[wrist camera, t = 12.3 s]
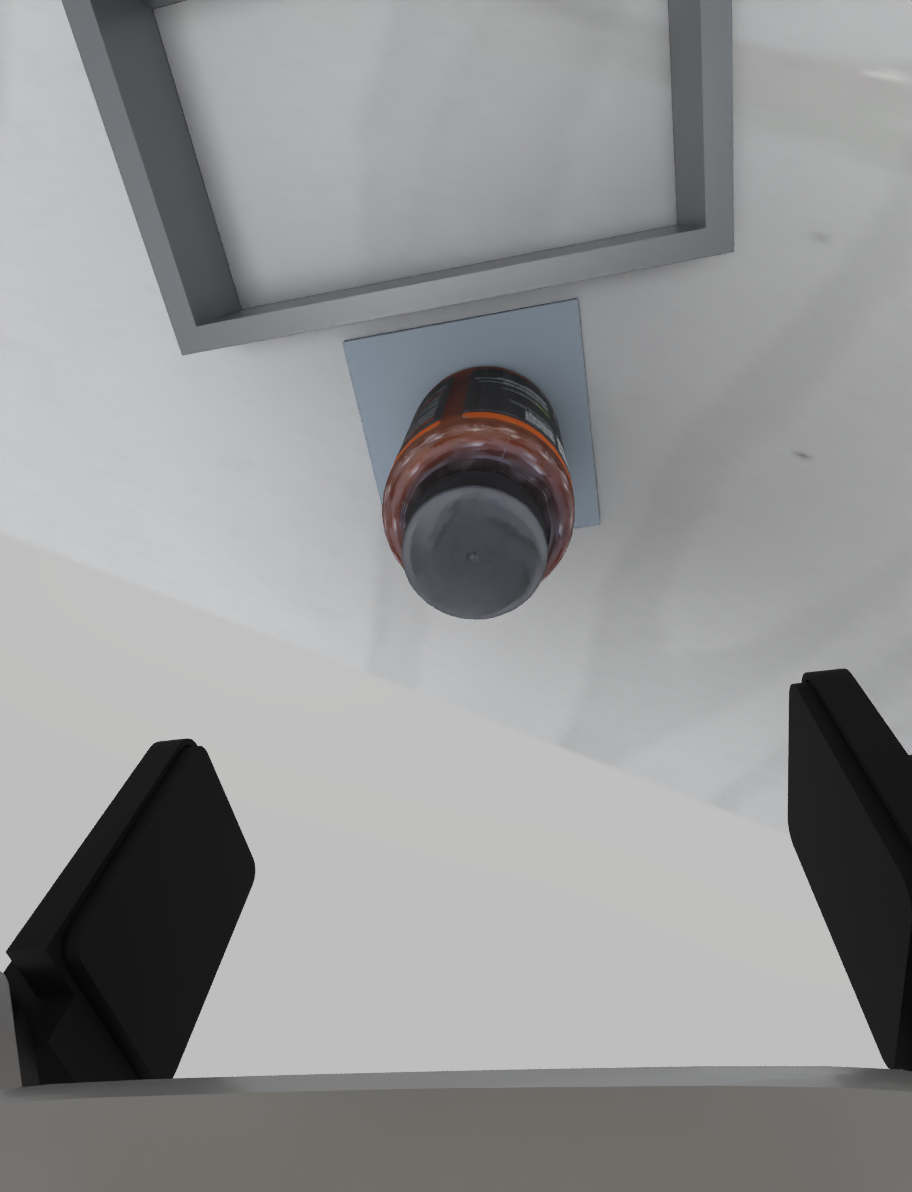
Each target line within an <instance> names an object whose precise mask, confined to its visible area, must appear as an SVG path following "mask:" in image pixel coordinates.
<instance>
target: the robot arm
mask: <svg viewBox="0 0 912 1192" xmlns="http://www.w3.org/2000/svg"><path fill="white" fill-rule="evenodd" d="M788 826H789V832H790V836H791V840H792V843H793V846H794V848H795V850H796V853H797V855H798V857H799V860H800V862H801V865H802V867H803V870H804V872H805V874H806V877H807V879H808V881H809V884H810V886H811V889H812V891H813V893H814V896H815V898H816V901H817V903H818V905H819V908H820V910H821V912H822V915H823V917H824V920H825V922H826V924H827V927H828V929H829V932H830V934H831V936H832V939H833V941H834V944H835V946H836V948H837V951H838V953H839V956H840V958H841V960H842V963H843V965H844V968H845V970H846V972H847V974H848V977H849V979H850V982H851V984H852V987H853V989H854V991H855V994H856V996H857V999H858V1001H859V1003H860V1006H861V1008H862V1010H863V1013H864V1015H865V1018H866V1020H867V1022H868V1025H869V1027H870V1030H871V1032H872V1034H873V1037H874V1039H875V1042H876V1044H877V1046H878V1049H879V1051H880V1054H881V1056H882V1058H883V1060H884V1062H885V1064H886V1065H887V1067H888V1068H889V1069H875V1068H851V1067H831V1066H740V1067H739V1066H732V1067H731V1066H716V1067H715V1066H704V1067H703V1066H693V1067H642V1068H641V1067H640V1068H588V1069H587V1068H586V1069H585V1068H583V1069H533V1070H531V1069H528V1070H483V1071H482V1070H481V1071H441V1072H440V1071H439V1072H397V1073H395V1072H394V1073H356V1074H319V1075H318V1074H315V1075H279V1076H246V1077H214V1078H213V1077H212V1078H181V1079H180V1078H178V1079H172V1078H173V1076H174V1074H175V1072H176V1070H177V1068H178V1065H179V1062H180V1060H181V1057H182V1055H183V1053H184V1051H185V1048H186V1046H187V1043H188V1041H189V1038H190V1036H191V1033H192V1031H193V1029H194V1026H195V1023H196V1021H197V1019H198V1016H199V1014H200V1011H201V1009H202V1007H203V1004H204V1002H205V999H206V997H207V994H208V992H209V990H210V987H211V985H212V982H213V980H214V977H215V975H216V972H217V970H218V968H219V965H220V963H221V960H222V958H223V955H224V953H225V951H226V948H227V945H228V943H229V941H230V938H231V936H232V933H233V931H234V928H235V926H236V924H237V921H238V919H239V916H240V914H241V911H242V909H243V907H244V904H245V902H246V899H247V897H248V894H249V892H250V889H251V887H252V885H253V882H254V877H255V863H254V860H253V857H252V855H251V852H250V850H249V848H248V845H247V843H246V841H245V839H244V836H243V834H242V831H241V829H240V827H239V825H238V822H237V820H236V818H235V815H234V813H233V811H232V808H231V806H230V804H229V801H228V799H227V797H226V795H225V792H224V790H223V788H222V785H221V783H220V781H219V778H218V776H217V774H216V772H215V769H214V767H213V765H212V762H211V760H210V758H209V755H208V753H207V751H206V750H205V748H203V747H202V746H197V745H196V743H195V742H194V741H193V740H192V739H178V740H170V741H160V742H156V743H154V744H153V745H152V746H151V747H150V748H149V750H148V751H147V753H146V754H145V755H144V757H143V758H142V760H141V761H140V763H139V764H138V765H137V767H136V768H135V770H134V771H133V772H132V774H131V776H130V777H129V778H128V780H127V781H126V782H125V784H124V785H123V787H122V788H121V789H120V791H119V792H118V794H117V795H116V797H115V798H114V800H113V801H112V802H111V804H110V805H109V806H108V808H107V809H106V811H105V812H104V814H103V815H102V816H101V818H100V819H99V821H98V822H97V824H96V825H95V826H94V828H93V829H92V831H91V832H90V833H89V835H88V836H87V838H86V839H85V840H84V842H83V843H82V845H81V846H80V848H79V849H78V850H77V852H76V853H75V855H74V856H73V857H72V859H71V860H70V862H69V863H68V865H67V866H66V867H65V869H64V870H63V872H62V873H61V875H60V876H59V877H58V879H57V880H56V882H55V883H54V884H53V886H52V887H51V889H50V890H49V892H48V893H47V894H46V896H45V897H44V899H43V900H42V902H41V903H40V904H39V906H38V907H37V909H36V910H35V911H34V913H33V914H32V916H31V917H30V919H29V920H28V921H27V923H26V924H25V925H24V927H23V928H22V930H21V931H20V932H19V934H18V935H17V937H16V938H15V940H14V941H13V942H12V944H11V945H10V947H9V948H8V950H7V951H6V953H7V954H8V956H9V957H10V959H11V960H12V961H11V963H10V964H9V966H8V967H7V969H6V970H5V971H4V973H2V972H0V1192H912V755H908V754H907V753H906V751H905V750H904V748H903V747H902V745H901V744H900V743H899V741H898V740H897V738H896V737H895V735H894V734H893V733H892V731H891V730H890V728H889V727H888V725H887V724H886V722H885V721H884V720H883V718H882V717H881V715H880V714H879V712H878V711H877V710H876V708H875V707H874V705H873V704H872V702H871V701H870V700H869V698H868V697H867V695H866V694H865V692H864V691H863V690H862V688H861V687H860V685H859V684H858V682H857V681H856V680H855V678H854V677H853V675H852V674H851V673H850V672H849V671H848V670H847V669H835V670H826V671H817V672H807V673H805V674H803V677H802V683H797V684H792V685H791V686H790V691H789V759H788Z"/></svg>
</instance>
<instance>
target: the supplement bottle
mask: <svg viewBox="0 0 912 1192" xmlns="http://www.w3.org/2000/svg"><path fill="white" fill-rule="evenodd" d="M382 517H383V524H384V529H385V534H386V537H387V540H388V542H389V545H390V548H391V550H392V552H393V554H394V556H395V558H396V559H397V561H398V562H399V563H400V564H401V566H402V567H403V569H404V570H405V573H406V576H407V577H408V580H409V582H410V584H411V586H412V587H413V589H414V590H415V591H416V592H417V594H418V595H419V596H420V597H422V598H423V599H424V600H425V601H426V602H427V603H428V604H430V605H431V606H433V607H434V608H436V609H437V610H439V611H441V612H443V613H446V614H449V615H451V616H455V617H459V618H464V619H488V618H493V617H496V616H500V615H502V614H505V613H507V612H510V611H512V610H514V609H516V608H517V607H518V606H520V605H522V604H523V603H524V602H525V601H526V600H527V599H529V598H530V597H531V596H532V594H533V593H534V592H535V590H536V589H537V587H538V586H539V584H540V583H541V582H542V581H543V580H544V579H545V578H546V577H547V576H548V575H549V574H550V573H551V572H552V570H553V569H554V568H555V567H556V565H557V564H558V563H559V561H560V560H561V558H562V557H563V555H564V553H565V552H566V549H567V547H568V545H569V542H570V539H571V536H572V531H573V527H574V522H575V504H574V493H573V488H572V482H571V476H570V473H569V469H568V464H567V458H566V454H565V450H564V446H563V441H562V437H561V432H560V427H559V423H558V420H557V417H556V415H555V413H554V410H553V407H552V405H551V404H550V402H549V401H548V399H547V398H546V397H545V395H544V394H543V393H542V392H541V390H540V389H539V388H538V387H537V386H535V385H534V384H533V383H532V382H531V381H529V380H528V379H527V378H525V377H523V376H521V375H519V374H517V373H515V372H513V371H510V370H507V369H504V368H500V367H491V366H484V367H473V368H468V369H465V370H462V371H459V372H456V373H454V374H451V375H449V376H448V377H446V378H445V379H443V380H442V381H441V382H439V383H438V384H437V385H436V386H435V387H434V388H433V389H432V390H431V391H430V392H429V393H428V394H427V395H426V397H425V398H424V400H423V401H422V402H421V404H420V406H419V407H418V409H417V411H416V413H415V415H414V417H413V420H412V422H411V425H410V427H409V429H408V431H407V434H406V436H405V438H404V441H403V443H402V445H401V448H400V450H399V452H398V455H397V456H396V459H395V462H394V464H393V466H392V469H391V471H390V474H389V476H388V479H387V482H386V485H385V490H384V494H383V505H382Z"/></svg>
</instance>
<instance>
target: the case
mask: <svg viewBox="0 0 912 1192" xmlns="http://www.w3.org/2000/svg"><path fill="white" fill-rule="evenodd" d="M180 1H184V0H62V3H63V6H64V9H65V12H66V15H67V18H68V21H69V23H70V26H71V29H72V32H73V35H74V38H75V41H76V44H77V47H78V50H79V53H80V56H81V59H82V62H83V65H84V68H85V71H86V74H87V76H88V79H89V82H90V85H91V88H92V91H93V94H94V97H95V100H96V103H97V106H98V109H99V112H100V115H101V118H102V121H103V124H104V126H105V129H106V132H107V135H108V138H109V141H110V144H111V147H112V150H113V153H114V156H115V159H116V162H117V165H118V168H119V171H120V174H121V176H122V179H123V182H124V185H125V188H126V191H127V194H128V197H129V200H130V203H131V206H132V209H133V212H134V215H135V218H136V221H137V224H138V226H139V229H140V232H141V235H142V238H143V241H144V244H145V247H146V250H147V253H148V256H149V259H150V262H151V265H152V268H153V271H154V274H155V277H156V279H157V282H158V285H159V288H160V291H161V294H162V297H163V300H164V303H165V306H166V309H167V312H168V315H169V318H170V321H171V324H172V327H173V329H174V332H175V335H176V338H177V341H178V344H179V347H180V350H181V353H182V355H187V354H192V353H198V352H203V351H208V350H214V349H219V348H224V347H230V346H235V345H240V344H246V343H251V342H256V341H262V340H267V339H272V338H278V337H283V336H288V335H294V334H299V333H304V332H310V331H315V330H320V329H326V328H331V327H336V326H342V325H347V324H352V323H358V322H363V321H368V320H374V319H379V318H384V317H390V316H395V315H400V314H406V313H411V312H416V311H422V310H427V309H432V308H437V307H443V306H448V305H453V304H459V303H464V302H469V301H475V300H480V299H485V298H491V297H496V296H501V295H507V294H512V293H517V292H523V291H528V290H533V289H539V288H544V287H549V286H555V285H560V284H565V283H571V282H576V281H581V280H587V279H592V278H597V277H603V276H608V275H613V274H619V273H624V272H629V271H635V270H640V269H645V268H651V267H656V266H661V265H667V264H672V263H677V262H683V261H688V260H693V259H699V258H704V257H709V256H715V255H720V254H725V253H731V252H734V212H733V96H732V0H668V10H669V35H670V60H671V85H672V110H673V135H674V160H675V185H676V210H677V225H672V226H667V227H662V228H657V229H652V230H647V231H642V232H637V233H631V234H626V235H621V236H616V237H611V238H606V239H601V240H596V241H590V242H585V243H580V244H575V245H570V246H565V247H560V248H555V249H549V250H544V251H539V252H534V253H529V254H524V255H519V256H514V257H508V258H503V259H498V260H493V261H488V262H483V263H478V264H473V265H467V266H462V267H457V268H452V269H447V270H442V271H437V272H432V273H426V274H421V275H416V276H411V277H406V278H401V279H396V280H391V281H385V282H380V283H375V284H370V285H365V286H360V287H355V288H350V289H344V290H339V291H334V292H329V293H324V294H319V295H314V296H309V297H303V298H298V299H293V300H288V301H283V302H278V303H273V304H268V305H262V306H257V307H252V308H247V309H242V310H241V307H240V304H239V300H238V297H237V294H236V290H235V287H234V284H233V280H232V277H231V273H230V270H229V267H228V263H227V260H226V257H225V253H224V250H223V246H222V243H221V240H220V236H219V233H218V230H217V226H216V223H215V219H214V216H213V213H212V209H211V206H210V203H209V199H208V196H207V192H206V189H205V186H204V182H203V179H202V176H201V172H200V169H199V165H198V162H197V159H196V155H195V152H194V149H193V145H192V142H191V139H190V135H189V132H188V128H187V125H186V122H185V118H184V115H183V112H182V108H181V105H180V101H179V98H178V95H177V91H176V88H175V85H174V81H173V78H172V74H171V71H170V68H169V64H168V61H167V58H166V54H165V51H164V47H163V44H162V41H161V37H160V34H159V31H158V27H157V24H156V20H155V17H154V14H153V10H152V9H154V8H158V7H161V6H165V5H169V4H173V3H177V2H180Z"/></svg>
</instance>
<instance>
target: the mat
mask: <svg viewBox="0 0 912 1192" xmlns="http://www.w3.org/2000/svg"><path fill="white" fill-rule="evenodd" d="M342 343H343V347H344V351H345V355H346V359H347V363H348V367H349V371H350V376H351V380H352V384H353V388H354V392H355V396H356V400H357V405H358V409H359V413H360V417H361V421H362V425H363V429H364V433H365V438H366V442H367V446H368V450H369V454H370V458H371V462H372V467H373V471H374V475H375V479H376V483H377V487H378V491H379V495H380V500H381V504H382V505H383V494H384V490H385V485H386V482H387V479H388V476H389V474H390V471H391V469H392V466H393V464H394V462H395V459H396V456H397V455H398V452H399V450H400V448H401V445H402V443H403V441H404V438H405V436H406V434H407V431H408V429H409V427H410V425H411V422H412V420H413V417H414V415H415V413H416V411H417V409H418V407H419V406H420V404H421V402H422V401H423V400H424V398H425V397H426V395H427V394H428V393H429V392H430V391H431V390H432V389H433V388H434V387H435V386H436V385H437V384H438V383H439V382H441V381H442V380H443V379H445V378H446V377H448V376H449V375H451V374H454V373H456V372H459V371H462V370H465V369H468V368H473V367H484V366H491V367H500V368H504V369H507V370H510V371H513V372H515V373H517V374H519V375H521V376H523V377H525V378H527V379H528V380H529V381H531V382H532V383H533V384H534V385H535V386H537V387H538V388H539V389H540V390H541V392H542V393H543V394H544V395H545V397H546V398H547V399H548V401H549V402H550V404H551V405H552V407H553V410H554V413H555V415H556V417H557V420H558V423H559V427H560V432H561V437H562V441H563V446H564V450H565V454H566V458H567V464H568V469H569V473H570V476H571V482H572V488H573V493H574V504H575V522H574V527H573V528H580V527H588V526H595V525H600V518H599V508H598V498H597V488H596V478H595V468H594V458H593V448H592V438H591V428H590V417H589V407H588V397H587V387H586V377H585V367H584V357H583V347H582V337H581V327H580V317H579V307H578V299H577V298H574V299H569V300H563V301H558V302H553V303H547V304H542V305H536V306H531V307H525V308H520V309H515V310H509V311H504V312H498V313H493V314H487V315H482V316H477V317H471V318H466V319H460V320H455V321H449V322H444V323H439V324H433V325H428V326H422V327H417V328H411V329H406V330H401V331H395V332H390V333H384V334H379V335H373V336H368V337H363V338H357V339H352V340H346V341H344V342H342Z"/></svg>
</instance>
